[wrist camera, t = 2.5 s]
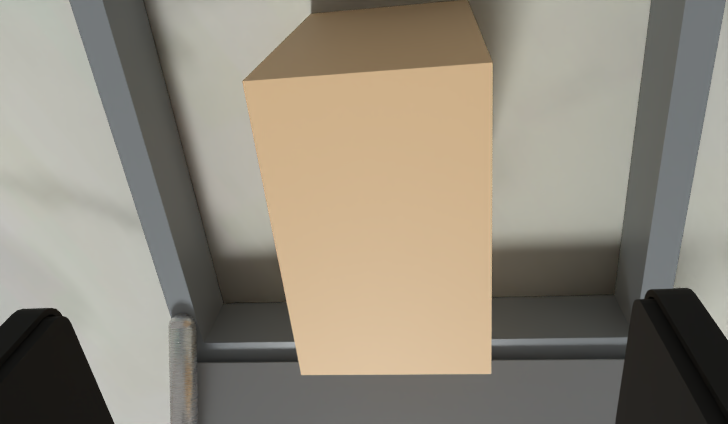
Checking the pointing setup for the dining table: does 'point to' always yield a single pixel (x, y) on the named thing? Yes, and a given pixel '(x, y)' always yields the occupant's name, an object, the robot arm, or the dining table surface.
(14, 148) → the dining table surface
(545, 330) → the equipment case
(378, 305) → the block
